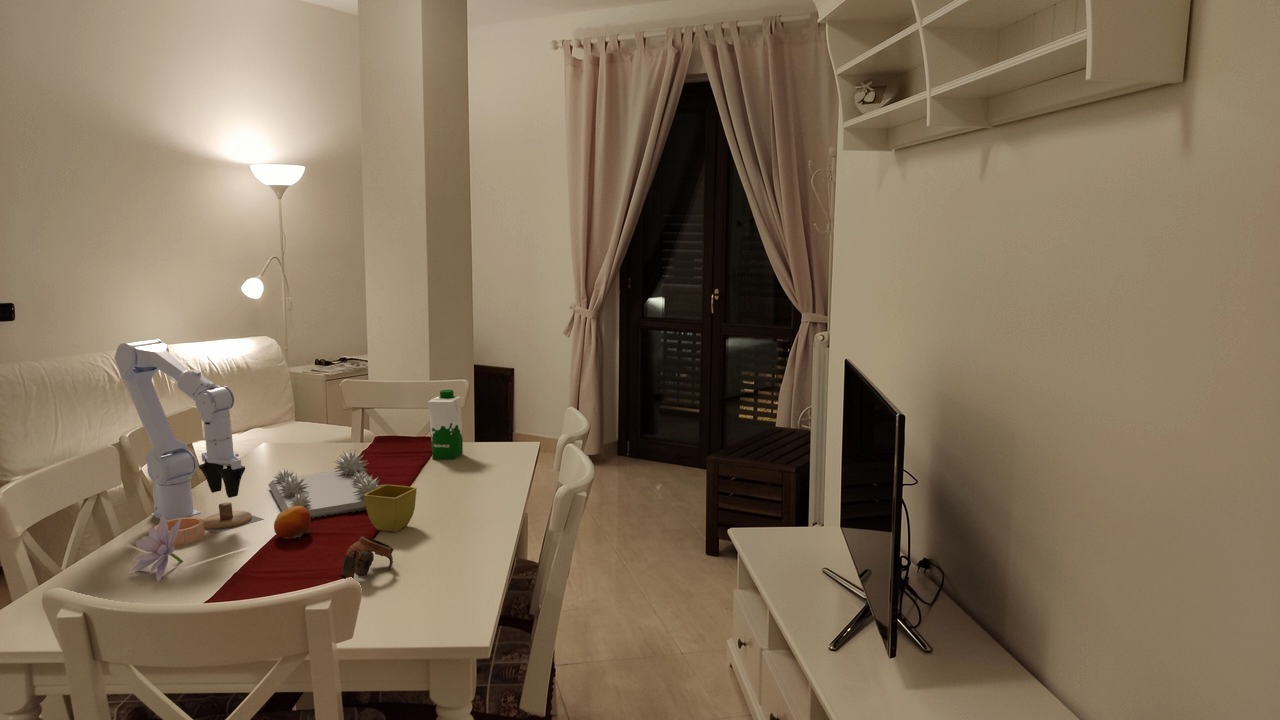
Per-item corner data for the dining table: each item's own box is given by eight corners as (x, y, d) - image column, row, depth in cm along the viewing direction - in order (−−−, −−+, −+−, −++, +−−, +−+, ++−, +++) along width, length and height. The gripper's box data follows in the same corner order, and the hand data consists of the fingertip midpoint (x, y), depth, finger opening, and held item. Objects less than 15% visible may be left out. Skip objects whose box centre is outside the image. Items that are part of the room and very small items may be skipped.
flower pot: (419, 523, 208) (417, 486, 207) (398, 536, 200) (395, 497, 199) (388, 520, 211) (385, 484, 210) (365, 532, 203) (362, 494, 202)
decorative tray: (268, 490, 240) (265, 455, 238) (365, 475, 252) (363, 441, 251) (287, 527, 210) (284, 486, 208) (396, 508, 222) (394, 469, 221)
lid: (192, 523, 211) (190, 506, 210) (236, 511, 220) (235, 494, 219) (216, 532, 204) (214, 514, 204) (260, 519, 213) (259, 502, 212)
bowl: (147, 541, 201) (145, 526, 200) (191, 529, 208) (190, 514, 208) (168, 550, 195) (166, 535, 194) (213, 537, 202) (211, 522, 202)
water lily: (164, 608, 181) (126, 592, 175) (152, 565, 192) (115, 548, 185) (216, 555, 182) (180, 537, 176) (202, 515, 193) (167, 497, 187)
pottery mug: (340, 569, 183) (357, 531, 184) (383, 586, 184) (400, 548, 186) (333, 576, 171) (351, 536, 173) (379, 594, 172) (397, 554, 174)
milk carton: (466, 453, 274) (463, 389, 271) (455, 460, 265) (452, 395, 262) (439, 452, 275) (435, 389, 272) (428, 460, 266) (424, 394, 263)
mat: (189, 525, 211) (189, 523, 211) (237, 512, 220) (237, 510, 220) (215, 535, 204) (215, 533, 204) (264, 520, 213) (263, 519, 213)
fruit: (306, 537, 197) (287, 506, 197) (281, 553, 199) (261, 522, 199) (326, 525, 205) (307, 495, 204) (301, 540, 207) (283, 511, 206)
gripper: (251, 438, 208) (256, 494, 210) (219, 431, 217) (225, 485, 219) (222, 444, 202) (227, 502, 204) (190, 437, 211) (196, 492, 213)
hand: (224, 494), depth 211 cm, fingers open, 7 cm apart
